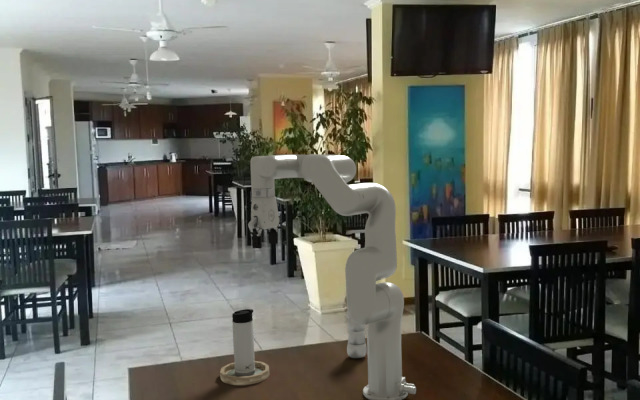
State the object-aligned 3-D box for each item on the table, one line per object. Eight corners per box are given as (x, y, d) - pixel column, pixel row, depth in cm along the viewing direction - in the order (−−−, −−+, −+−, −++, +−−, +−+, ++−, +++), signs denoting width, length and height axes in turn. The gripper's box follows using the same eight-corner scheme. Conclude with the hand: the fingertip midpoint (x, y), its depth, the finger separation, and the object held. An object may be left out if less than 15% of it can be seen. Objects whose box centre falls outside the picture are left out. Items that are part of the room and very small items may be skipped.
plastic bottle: (343, 356, 207) (341, 297, 205) (361, 352, 210) (359, 294, 208) (352, 361, 201) (350, 301, 200) (370, 358, 204) (369, 298, 202)
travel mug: (252, 377, 188) (249, 312, 186) (232, 376, 189) (228, 312, 187) (258, 370, 194) (255, 307, 192) (238, 369, 195) (235, 307, 194)
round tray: (278, 371, 195) (278, 364, 195) (251, 388, 182) (251, 380, 181) (239, 365, 202) (238, 358, 202) (210, 380, 188) (210, 373, 188)
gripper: (258, 196, 192) (260, 250, 194) (286, 191, 207) (288, 242, 209) (238, 196, 196) (240, 249, 197) (267, 191, 211) (269, 241, 212)
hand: (265, 245), depth 203 cm, fingers open, 9 cm apart
